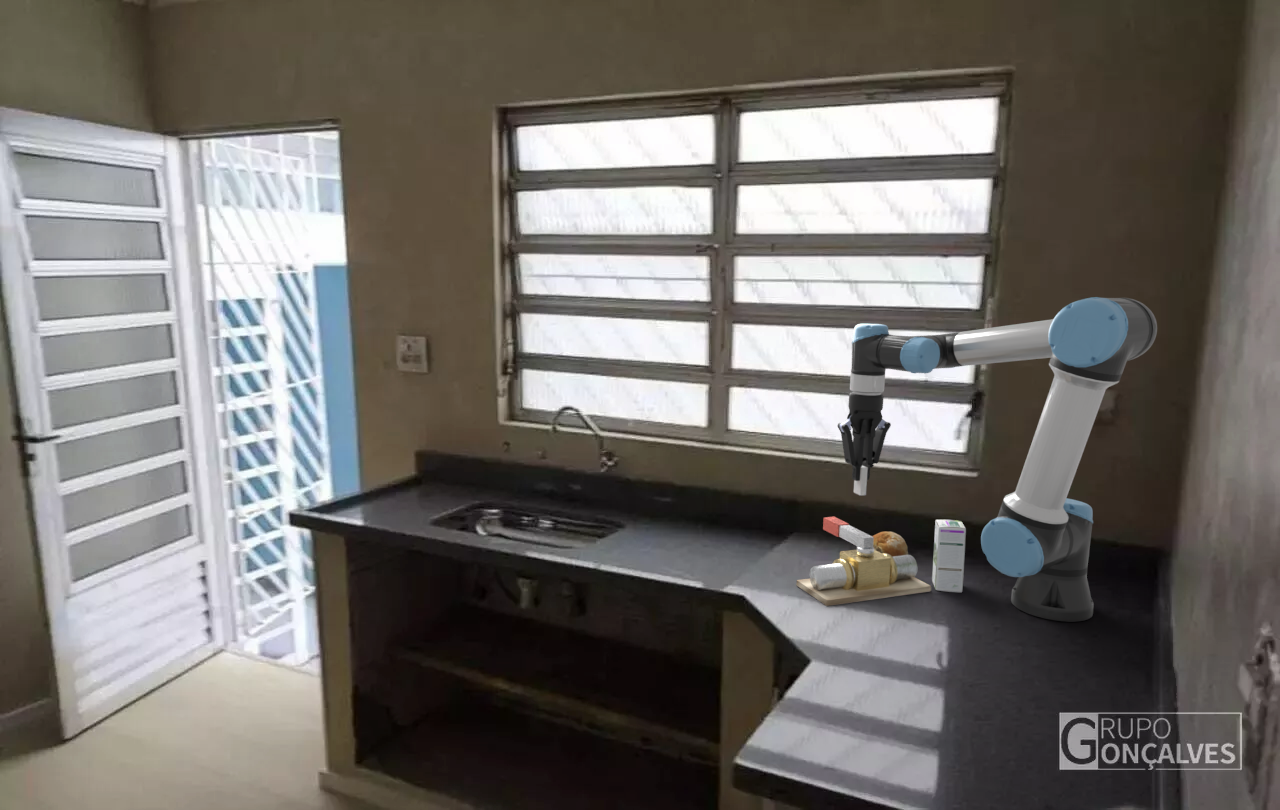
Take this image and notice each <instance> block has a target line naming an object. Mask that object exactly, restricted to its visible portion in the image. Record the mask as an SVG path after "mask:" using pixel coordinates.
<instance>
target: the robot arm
mask: <svg viewBox="0 0 1280 810" xmlns="http://www.w3.org/2000/svg"><path fill="white" fill-rule="evenodd" d="M1157 333H1158V323H1157V319H1156V317H1155V315H1154V313H1153V312H1152V310H1151V309H1150V308H1149V307H1148V306H1146V304H1144V303H1142V302H1141V301H1138V300H1136V299H1133V298H1129V297H1100V296H1099V297H1098V296H1095V297H1094V296H1093V297H1088V298H1086V297H1085V298H1082V299H1078V300H1076V301H1073V302H1071V303H1069V304H1067V305H1065V306H1064V307H1062V309H1060V311H1058V312H1057V314H1056V315H1055V316H1054V318H1052V319H1045V320H1039V321H1032V322H1024V323H1017V324H1009V325H1002V326H994V327H988V328H987V327H986V328H981V329H972V330H965V331H960V332H949V333H943V334H931V335H929V334H928V335H911V336H910V335H909V336H908V335H896V334H895V335H894V334H890V333H889V326H888V325H886V324H881V323H858V324H856V325H855V326H854V328H853V333H852V334H853V335H852V342H851V367H850V368H851V369H850V378H849V379H850V381H849V390H850V391H851V392H850V393H849V395H848V409H849V410H848V411H849V412H848V414H847V417H846V420H845V421H843V422H839V423H837V428H838V430H839V432H840V435H841V441H842V449H843V455H844V461H845V462H844V463H846V464H849V465H851V466H852V471H851V472H852V473H851V474H852V475H851V479H852V480H853V493H854V494H855V495H858V496H867V486H868V485H867V482H868V481H869V480H870V475H871V469H872V468H873V467H874V466H875V464H879V462H880V458H881V454H882V450H883V446H884V443H885V440H886V436H887V433H888V431H889V429H890V428H891V425H892V424H891V422H889V421H886V420H884V419H883V414H882V410H883V408H884V397H885V396H884V395H883V393H884V391H885V384H886V370H896V371H901V372H908V373H911V374H929V373H931V372H933V370H935V369H937V370H938V369H952V368H953V369H954V368H959V367H965V366H966V367H967V366H977V365H988V364H995V363H996V364H997V363H1009V362H1018V361H1019V362H1020V361H1028V360H1036V359H1038V360H1039V359H1048V358H1050V359H1049V362H1048V366H1049V368H1050V369H1051V370H1052V372H1053V375H1054V376H1053V379H1052V382H1051V386H1050V388H1049V392H1048V393H1047V397H1046V400H1045V403H1044V406H1043V409H1042V412H1041V415H1040V417H1039V420H1038V423H1037V427H1036V429H1035V432H1034V435H1033V438H1032V442H1031V445H1030V447H1029V449H1028V453H1027V456H1026V459H1025V460H1024V461H1025V462H1024V464H1023V468H1022V470H1021V474H1020V477H1019V479H1018V482H1017V484H1016V487H1015V491H1013V492H1011V493H1009V494H1006V495H1004V497H1003V500H1002V503H1001V505H1000V509H999V510H998V511H999V512H998V514H997V517H995V518H993V519H991V520H989V522H988V523H987V524H986V525H985V526H984V527H983V529H982V531H981V534H980V535H981V536H980V544H981V549H982V553H983V554H985V557H986V560H987V561H988V563H989V564H990V565H991V566H992V567H993V568H994V569H996V570H997V571H998V572H1000V573H1001V574H1002V575H1003V574H1004V575H1005V576H1008V577H1011V578H1017V579H1016V581H1015V584H1014V586H1013V587H1012V589H1011V597H1010V601H1011V604H1012V605H1013V606H1014V607H1015V608H1016V609H1018V610H1019V611H1022V612H1024V613H1026V614H1029V615H1031V616H1034V617H1038V618H1041V619H1045V620H1050V621H1056V622H1057V621H1058V622H1067V623H1068V622H1069V623H1070V622H1072V623H1073V622H1082V621H1086V620H1089V619H1091V618H1092V617H1093V614H1094V605H1095V604H1094V601H1093V599H1092V597H1091V596H1092V595H1091V591H1090V586H1089V581H1088V578H1087V577H1088V576H1087V575H1088V565H1089V564H1088V563H1089V557H1090V548H1091V547H1090V546H1091V540H1092V530H1093V524H1094V520H1093V516H1094V515H1093V508H1092V506H1091V505H1089V504H1088V503H1086V502H1083V501H1080V500H1078V499H1077V500H1076V499H1072V498H1067V497H1068V495H1069V491H1070V489H1071V488H1072V487H1071V486H1072V484H1073V481H1074V478H1075V476H1076V473H1077V471H1078V470H1077V469H1078V467H1079V464H1080V462H1081V459H1082V456H1083V453H1084V451H1085V448H1086V445H1087V443H1088V440H1089V437H1090V434H1091V431H1092V429H1093V426H1094V423H1095V420H1096V417H1097V415H1098V412H1099V409H1100V407H1101V404H1102V401H1103V398H1104V396H1105V392H1106V390H1107V389H1108V388H1109V387H1112V386H1114V385H1117V384H1118V383H1120V381H1121V377H1122V375H1123V372H1124V369H1125V367H1126V364H1127V362H1128V361H1131V360H1134V359H1138V358H1139V357H1140V356H1142V355H1144V354H1145V353H1146V352H1147V351H1149V350H1150V348H1151V347H1152V346H1153V344H1154V342H1155V341H1156V337H1157ZM851 430H852V432H851Z"/></svg>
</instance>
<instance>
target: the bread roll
mask: <svg viewBox="0 0 1280 810" xmlns="http://www.w3.org/2000/svg"><path fill="white" fill-rule="evenodd" d="M871 536H872V537H874V541H873V547H874V550H876V551H878V552H880V553H882V554H883V553H887V554H889V555H891V556H892V557H894V556H902V555H909V552H908V545H907V543H906V541H905V539H904V538H903V537H902V536H901V535H900V534H898V533H896V532H894V531H880V532H878V533H876V534H874V535H871Z"/></svg>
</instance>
